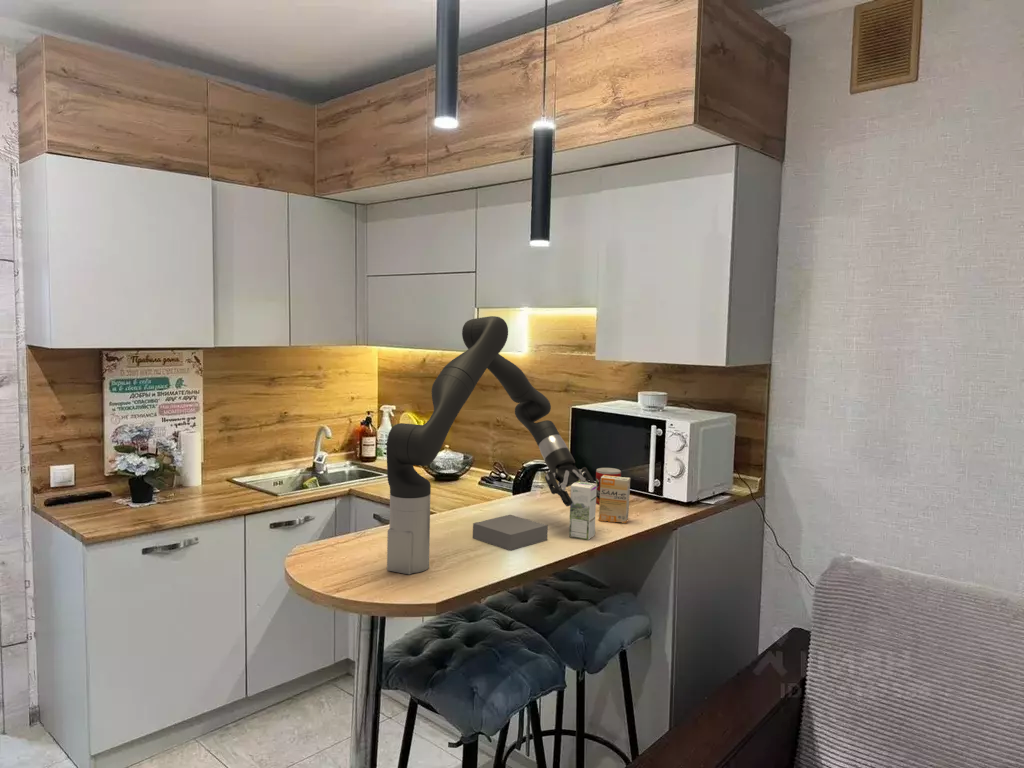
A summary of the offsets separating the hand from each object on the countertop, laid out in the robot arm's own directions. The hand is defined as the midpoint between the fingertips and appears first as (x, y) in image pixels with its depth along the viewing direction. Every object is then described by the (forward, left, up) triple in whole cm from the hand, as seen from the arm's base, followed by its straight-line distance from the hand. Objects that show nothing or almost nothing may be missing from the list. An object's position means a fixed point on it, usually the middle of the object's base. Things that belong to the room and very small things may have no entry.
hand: (581, 503), depth 194 cm
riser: (-12, +15, -9) cm, 22 cm away
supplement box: (+20, -4, -9) cm, 22 cm away
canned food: (+40, +4, -9) cm, 41 cm away
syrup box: (0, -1, -9) cm, 9 cm away
